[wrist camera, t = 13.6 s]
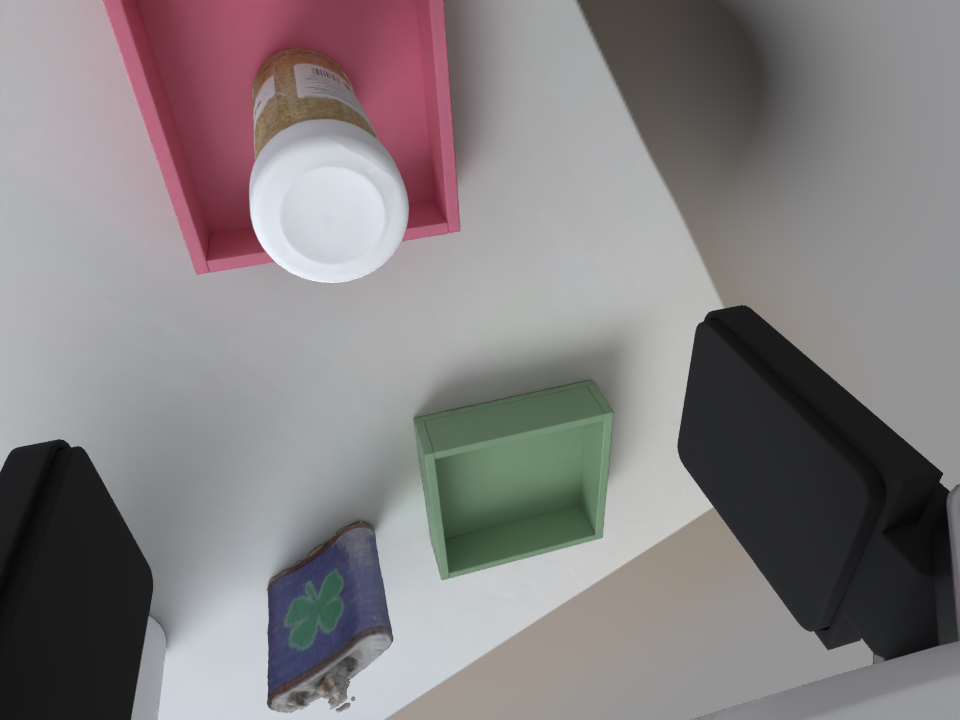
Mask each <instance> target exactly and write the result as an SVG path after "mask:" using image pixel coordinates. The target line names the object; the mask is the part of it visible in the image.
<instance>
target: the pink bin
mask: <svg viewBox="0 0 960 720" xmlns="http://www.w3.org/2000/svg"><path fill="white" fill-rule="evenodd" d="M103 1H104V4H105V7H106V10H107V13H108V16H109V19H110V22H111V25H112V28H113V31H114V34H115V37H116V40H117V43H118V45H119V48H120V51H121V54H122V57H123V60H124V63H125V66H126V69H127V72H128V75H129V78H130V81H131V84H132V87H133V90H134V93H135V95H136V98H137V101H138V104H139V107H140V110H141V113H142V116H143V119H144V122H145V125H146V128H147V131H148V134H149V137H150V140H151V143H152V145H153V148H154V151H155V154H156V157H157V160H158V163H159V166H160V169H161V172H162V175H163V178H164V181H165V184H166V187H167V190H168V192H169V195H170V198H171V201H172V204H173V207H174V210H175V213H176V216H177V219H178V222H179V225H180V228H181V231H182V234H183V237H184V240H185V242H186V245H187V248H188V251H189V254H190V257H191V260H192V263H193V266H194V269H195V272H196V274H203V273H209V272H216V271H222V270H229V269H235V268H241V267H247V266H253V265H259V264H265V263H271V262H275V261H274V260H273V259H272V258H271V257H270V256H269V255H268V253H267V252H266V251H265V250H264V248H263V247H262V245H261V244H260V242H259V240H258V238H257V236H256V233H255V231H254V228H253V225H252V220H251V215H250V200H249V184H250V177H251V173H252V169H253V166H254V163H255V161H256V158H255V149H254V121H253V113H254V112H253V107H252V98H251V97H252V86H253V82H254V79H255V77H256V75H257V73H258V71H259V70H260V69H261V67H262V65H263V64H264V63H265V62H266V61H267V60H268V59H269V58H270V57H272V56H273V55H274V54H276V53H278V52H280V51H284V50H289V49H294V48H301V49H311V50H315V51H318V52H320V53H322V54H324V55H326V56H329V57H330V58H331V59H333V60H334V61H335V62H336V63H337V64H338V65H339V66H340V67H341V68H342V69H343V70H344V72H345V74H346V75H347V76H348V77H349V79H350V81H351V83H352V86H353V88H354V91H355V94H356V96H357V98H358V100H359V102H360V104H361V106H362V108H363V109H364V111H365V113H366V115H367V117H368V119H369V121H370V123H371V125H372V127H373V128H374V130H375V132H376V135H377V137H378V140H379V142H380V143H381V144H382V145H383V146H384V147H385V148H386V149H387V151H388V152H389V154H390V155H391V157H392V159H393V160H394V162H395V164H396V166H397V168H398V170H399V172H400V174H401V177H402V180H403V182H404V185H405V188H406V192H407V196H408V203H409V216H408V223H407V228H406V231H405V234H404V237H403V239H402V241H405V240H412V239H418V238H424V237H430V236H436V235H442V234H448V232H449V233H453V232H459V231H460V218H459V204H458V190H457V176H456V163H455V149H454V135H453V122H452V108H451V94H450V80H449V67H448V53H447V39H446V26H445V12H444V0H103Z"/></svg>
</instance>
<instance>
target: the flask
mask: <svg viewBox="0 0 960 720" xmlns="http://www.w3.org/2000/svg"><path fill="white" fill-rule="evenodd" d="M336 534H337V535H336V536H335V537H333V538H331V539H330V540H329V541H327V542H325V543H324V544H321V545H319V546H318V547H315V548H314V550H312V551H310V553H309V555H308V556H307V558H306V559H305V560H303V561H301V562H300V561H297V563H296V564H295V566H294V567H292V568H291V569H289V570H284V572H282V573H281V574H280V575H278V576H277V577H275V578H273V579H271V580H270V582H269V584H268V589H267V590H268V607H269V624H268V632H267V633H268V645H269V653H268V656H269V660H268V676H267V678H268V700H267V705H268V707H269V708H270V709H272V710H275V711H277V712H283V713H292V712H294V711H295V710H297V709H303V708H305V707H307V706H308V705H310V704H308V703H311V702H313V701H314V700H316V699H319V698H320V697H323V698H326V699H329V701H328V703H329V704H330V706H331V708H330V709H333V708H335V707H337V706H338V705H339V704H340V703H343V702H344V701H345V700H346V699H347V695H346V694H347V688H348V686H349V683H350V681H349V680H350V679H351V678H353V677H354V676H355V675H356V674H358V673H359V672H360V671H362V670H363V669H365V668H366V667H367V666H368V665H369V664H370V663H371V662H373V661H374V660H375V659H376V658H378V657H379V656H380V655H381V654H382V653H383V652H384V651H385V650H387V649H388V648H389V647H390V645H391V644H392V642H393V635H392V628H391V624H390V620H389V615H388V609H387V603H386V596H385V590H384V584H383V579H382V575H381V570H380V565H379V558H378V551H377V546H376V535H375V533H374V531H373V529H372V527H371V526H370V525H368V524H365V523H364V522H362V521H360V522H358V523H357V524H353V525H350V526H347V527H345V528H343V529H342V530H339V531H338V532H336ZM351 700H352V701H354V700H355V697H352V698H351ZM349 707H350V703H345V704H344V705H342V706H341V707H340V708H337V709H335V710H336V712H337V713H338V712H341V711H343V710H345V709H348V708H349Z"/></svg>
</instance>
